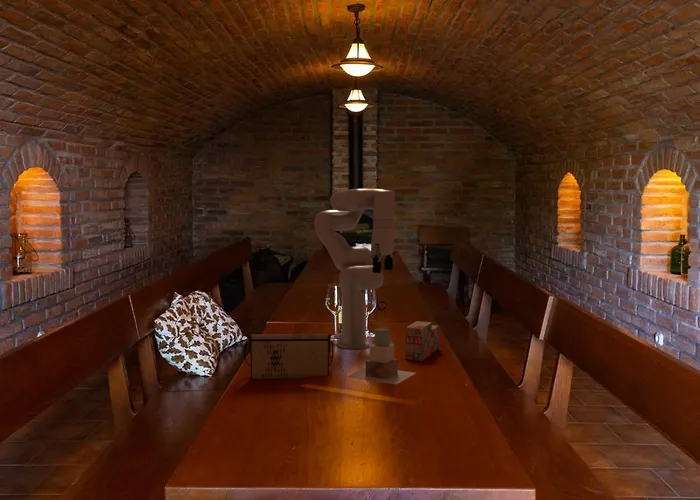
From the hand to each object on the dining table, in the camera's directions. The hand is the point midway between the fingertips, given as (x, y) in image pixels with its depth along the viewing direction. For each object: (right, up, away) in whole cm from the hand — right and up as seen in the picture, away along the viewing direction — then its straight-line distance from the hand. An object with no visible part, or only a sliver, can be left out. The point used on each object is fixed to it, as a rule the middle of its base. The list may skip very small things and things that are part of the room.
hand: (382, 271), depth 269 cm
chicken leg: (-1, -33, -2) cm, 33 cm away
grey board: (-1, -35, -24) cm, 42 cm away
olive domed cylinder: (-1, -24, -25) cm, 35 cm away
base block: (-1, -34, -24) cm, 42 cm away
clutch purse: (-32, -35, -23) cm, 53 cm away
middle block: (-1, -29, -25) cm, 38 cm away
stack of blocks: (+16, -32, +10) cm, 37 cm away
